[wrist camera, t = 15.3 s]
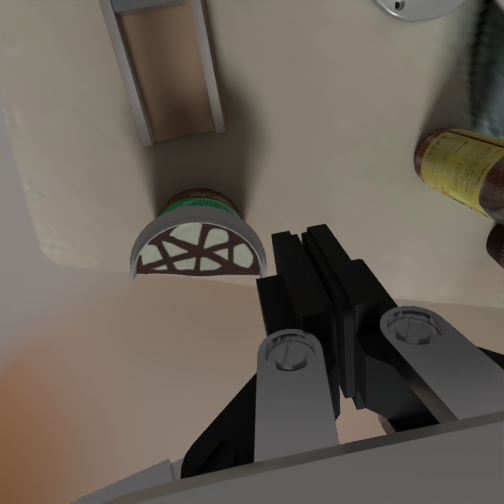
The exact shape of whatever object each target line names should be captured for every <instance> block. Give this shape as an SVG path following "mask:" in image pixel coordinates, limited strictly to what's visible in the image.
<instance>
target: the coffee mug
mask: <svg viewBox="0 0 504 504" xmlns="http://www.w3.org/2000/svg"><path fill="white" fill-rule="evenodd" d="M486 248H487V252H488V254H489V255H490V256H491V257H492V258H493V259H494V260H495V261H496V262H497V263H498V264H499V265H500V266H502V267H503V268H504V225H502V224H500V223H499V224H497V225H496V226H495V227H494V229H493V230H492V231H491V233H490V235H489V237H488V239H487V244H486Z"/></svg>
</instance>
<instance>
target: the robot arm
mask: <svg viewBox="0 0 504 504" xmlns="http://www.w3.org/2000/svg"><path fill="white" fill-rule="evenodd" d="M466 1H467V0H373V2H374V3H375V4H376V5H377V7H379V8H380V9H381V10H383V11H384V12H385V13H386V14H388V15H390V16H392V17H394V18H397V19H399V20H404V21H410V22H416V21H427V20H431V19H436V18H439V17H441V16H444V15H446V14H449V13H450V12H452V11H454V10H455V9H457V8H458V7H460V6H461V5H463V4H464V3H465V2H466ZM395 3H397V5H398V6H397V8H396V9H395ZM301 237H302V243H301V241H300V239H299V237H298V235H297V234H294V235H291V233H290V232H289V231H286V232H280V233H275V234H272V244H273V250H274V257H275V264H276V271H277V275H275V276H270V277H264V278H259V279H256V283H257V289H258V294H259V299H260V304H261V310H262V314H263V319H264V325H265V330H266V334H267V338H266V339H264V341H263V342H262V343H261V345H260V346H259V350H258V354H257V355H258V356H257V373H256V374H255V375H254V376H253V377H252V378H251V379H250V380H249V382H248V383H247V384H246V385H245V386H244V387H243V388H242V389H241V391H240V392H239V393H238V394H237V395H236V396H235V397H234V398H233V400H232V401H231V402H230V403H229V404H228V405H227V406H226V408H225V409H224V410H223V411H222V412H221V413H220V414H219V415H218V416H217V418H216V419H215V420H214V421H213V422H212V423H211V424H210V425H209V427H208V428H207V429H206V430H205V431H204V432H203V433H202V434H201V436H200V437H199V438H198V439H197V440H196V441H195V442H194V443H193V445H192V446H191V447H190V449H189V450H188V452H187V453H186V455H185V457H184V458H182V459H180V460H178V461H176V462H173V463H171V462H170V460H169V459H167V460H165V461H163V462H161V463H158V464H156V465H154V466H151V467H149V468H147V469H145V470H142V471H140V472H138V473H136V474H133V475H131V476H129V477H127V478H124V479H122V480H120V481H118V482H115V483H113V484H111V485H109V486H106V487H104V488H102V489H99V490H97V491H95V492H93V493H90V494H88V495H86V496H83V497H81V498H79V499H77V500H76V501H74V502H73V503H71V504H504V355H502V354H499V353H496V352H493V351H490V350H487V349H483V348H480V347H477V346H475V345H474V344H473V343H472V342H470V341H469V340H468V339H467V338H466V337H465V336H463V335H462V334H461V333H460V332H459V331H457V330H456V329H455V328H454V327H453V326H452V325H450V324H449V323H448V322H447V321H446V320H444V319H443V318H442V317H441V316H439V315H438V314H436V313H435V312H432V311H430V310H427V309H425V308H421V307H415V306H402V307H398V306H397V305H396V303H395V302H394V301H393V299H392V298H391V297H390V295H389V294H388V293H387V291H386V290H385V289H384V287H383V286H382V285H381V283H380V282H379V281H378V279H377V278H376V277H375V275H374V274H373V273H372V272H371V270H370V269H369V268H368V266H367V265H366V264H365V262H364V261H363V260H362V259H357V260H351V259H350V258H349V256H348V255H347V253H346V252H345V251H344V249H343V248H342V246H341V245H340V243H339V242H338V241H337V239H336V238H335V236H334V235H333V233H332V232H331V231H330V229H329V228H328V226H327V225H326V224H322V225H317V226H312V227H307V232H305V233H302V234H301ZM339 385H340V388H341V390H342V392H343V395H344V397H345V398H350V397H352V399H353V401H354V404H355V406H356V409H357V410H359V409H364V408H367V409H369V410H371V411H373V412H375V413H377V414H378V419H379V422H380V424H381V426H382V428H383V429H384V431H385V432H386V434H387V435H383V436H379V437H374V438H369V439H364V440H359V441H355V442H350V443H345V444H341V445H339V439H338V434H337V428H336V423H335V421H336V419H337V418H338V416H339V414H340V390H339Z"/></svg>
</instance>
